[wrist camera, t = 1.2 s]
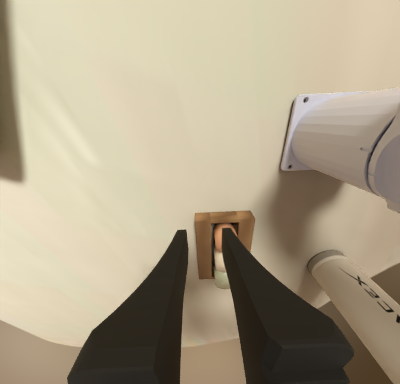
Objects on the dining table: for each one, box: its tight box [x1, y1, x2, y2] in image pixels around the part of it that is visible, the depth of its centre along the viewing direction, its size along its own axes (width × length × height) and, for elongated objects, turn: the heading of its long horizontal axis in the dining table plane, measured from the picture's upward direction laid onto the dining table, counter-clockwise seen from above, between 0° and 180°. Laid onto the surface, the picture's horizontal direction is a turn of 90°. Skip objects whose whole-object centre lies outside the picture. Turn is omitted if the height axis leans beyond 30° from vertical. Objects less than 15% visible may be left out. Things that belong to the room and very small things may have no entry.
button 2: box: [213, 223, 237, 253], centre depth 20 cm, size 3×3×3 cm
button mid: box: [213, 244, 226, 273], centre depth 22 cm, size 3×3×3 cm
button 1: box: [213, 263, 230, 289], centre depth 23 cm, size 3×3×3 cm
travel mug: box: [308, 251, 400, 384], centre depth 18 cm, size 6×7×20 cm
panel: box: [195, 211, 255, 279], centre depth 23 cm, size 8×12×2 cm, turn 2°
